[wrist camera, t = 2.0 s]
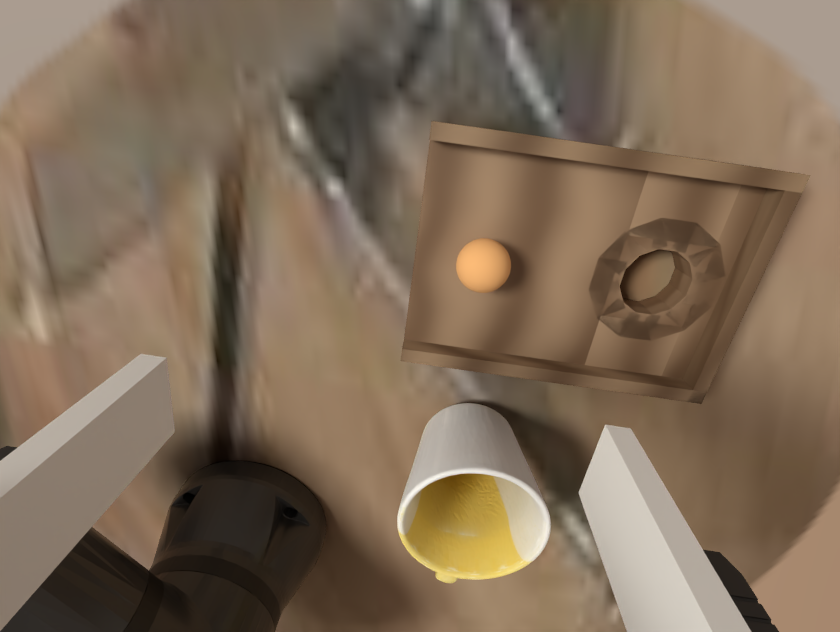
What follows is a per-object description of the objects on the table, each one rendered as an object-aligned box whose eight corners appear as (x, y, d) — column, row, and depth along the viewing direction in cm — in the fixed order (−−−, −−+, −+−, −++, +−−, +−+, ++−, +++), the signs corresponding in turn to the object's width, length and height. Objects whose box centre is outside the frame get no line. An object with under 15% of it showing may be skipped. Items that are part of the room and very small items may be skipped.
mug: (437, 362, 36) (434, 449, 27) (547, 406, 37) (581, 505, 28) (379, 476, 42) (358, 582, 32) (476, 511, 43) (484, 624, 33)
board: (405, 336, 35) (400, 360, 32) (433, 121, 29) (431, 121, 25) (675, 374, 35) (701, 403, 32) (764, 168, 29) (810, 175, 25)
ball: (451, 278, 31) (452, 296, 27) (460, 229, 29) (461, 242, 26) (501, 285, 31) (507, 304, 27) (512, 236, 29) (520, 250, 26)
